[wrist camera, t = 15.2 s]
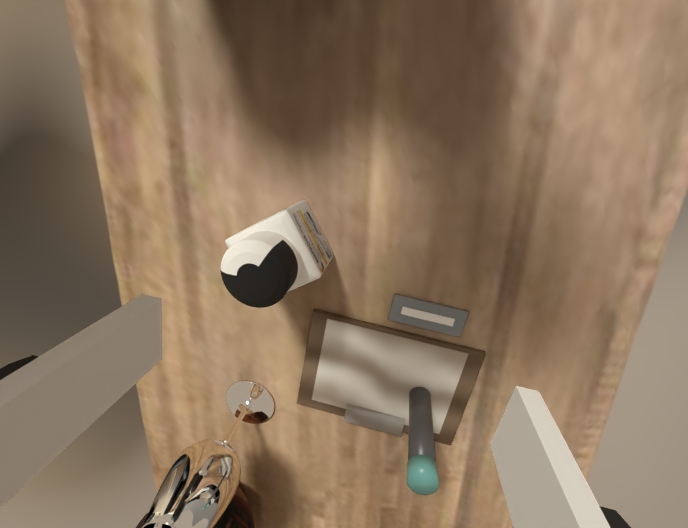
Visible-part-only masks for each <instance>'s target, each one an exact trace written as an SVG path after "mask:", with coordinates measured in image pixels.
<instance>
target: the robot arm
mask: <svg viewBox="0 0 688 528" xmlns="http://www.w3.org/2000/svg"><path fill="white" fill-rule="evenodd" d="M161 359H162V311H161V298H157V297H153V296H148V295H144V294H142V295H140V296H138V297H137V298H135V299H133V300H132V301H130V302H129V303H127V304H125V305H124V306H122V307H120V308H119V309H117V310H115V311H114V312H112V313H110V314H109V315H107V316H105V317H104V318H102V319H100V320H99V321H97V322H96V323H94V324H92V325H91V326H89V327H88V328H86V329H84V330H82V331H81V332H79V333H77V334H76V335H74V336H72V337H71V338H69V339H68V340H66V341H64V342H63V343H61V344H59V345H58V346H56V347H54V348H53V349H51V350H50V351H48V352H46V353H45V354H43V355H41V356H39V357H38V356H34V355H32V356H30V357H27V358H24V359H21V360H18V361H16V362H13V363H10V364H8V365H6V366H5V367H3V368H1V369H0V508H1V507H2V506H3V505H4V504H5V503H7V502H8V501H9V500H10V499H11V498H12V497H13V496H14V495H15V494H16V493H17V492H18V491H19V490H20V489H22V488H23V487H24V486H25V485H26V484H27V483H28V482H29V481H30V480H31V479H33V478H34V477H35V476H36V475H37V474H38V473H39V472H40V471H41V470H42V469H43V468H44V467H46V465H48V464H49V463H50V462H51V461H52V460H53V459H54V458H55V457H56V456H57V455H58V454H59V453H60V452H62V451H63V450H64V449H65V448H66V447H67V446H68V445H69V444H70V443H72V442H73V441H74V440H75V439H76V438H77V437H78V436H79V435H80V434H81V433H82V432H83V431H84V430H86V429H87V428H88V427H89V426H90V425H91V424H92V423H93V422H94V421H95V420H96V419H98V417H100V416H101V415H102V414H103V413H104V412H105V411H106V410H107V409H108V408H109V407H110V406H112V405H113V404H114V403H115V402H116V401H117V400H118V399H119V398H120V397H121V396H122V395H123V394H125V393H126V392H127V391H128V390H129V389H130V388H131V387H132V386H133V385H134V384H135V383H137V382H138V381H139V380H140V379H141V378H142V377H143V376H144V375H145V374H146V373H147V372H148V371H150V370H151V369H152V368H153V367H154V366H155V365H156V364H157V363H158V362H159V361H160V360H161ZM490 446H491V449H492V453H493V457H494V460H495V464H496V467H497V471H498V475H499V478H500V482H501V485H502V489H503V493H504V496H505V500H506V503H507V507H508V511H509V514H510V518H511V521H512V525H513V528H631V527H630V526H629V525H628V524H627V523H626V522H625V521H624V519H623V518H622V517H621V516H620V515H619V514H618V513H617V511H615V510H612V509H608V508H604V507H600V506H599V505H598V503H597V501H596V499H595V497H594V495H593V493H592V492H591V489H590V488H589V486H588V484H587V482H586V480H585V478H584V476H583V474H582V472H581V470H580V469H579V467H578V465H577V463H576V461H575V459H574V457H573V455H572V453H571V451H570V450H569V448H568V446H567V444H566V442H565V440H564V438H563V436H562V434H561V432H560V431H559V429H558V427H557V425H556V423H555V421H554V419H553V417H552V415H551V413H550V412H549V410H548V408H547V406H546V404H545V402H544V400H543V398H542V396H541V394H540V393H539V391H536V390H532V389H528V388H523V387H519V386H516V387H515V389H514V392H513V394H512V396H511V398H510V401H509V403H508V405H507V407H506V410H505V412H504V414H503V416H502V419H501V421H500V423H499V426H498V428H497V430H496V432H495V435H494V437H493V439H492V441H491V444H490Z"/></svg>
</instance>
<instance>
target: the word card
mask: <svg viewBox="0 0 688 528" xmlns="http://www.w3.org/2000/svg"><path fill="white" fill-rule="evenodd" d="M468 313H469V312H468V311H466V310H461V309H457V308H453V307H449V306H445V305H440V304H436V303H432V302H428V301H424V300H419V299H415V298H411V297H407V296H403V295H398V294H395V295H394V299H393V302H392V306H391V310H390V314H389V318H388V320H391V321H395V322H399V323H403V324H407V325H411V326H415V327H419V328H423V329H427V330H432V331H436V332H440V333H444V334H448V335H452V336H456V337H460V336H461V333H462V330H463V327H464V325H465V322H466V319H467V316H468Z"/></svg>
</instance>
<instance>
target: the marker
mask: <svg viewBox="0 0 688 528" xmlns="http://www.w3.org/2000/svg"><path fill="white" fill-rule="evenodd" d="M407 484H408V486H409V488H410V489H411V490H412V491H413V492H415V493H417V494H420V495H430V494H432V493H434V492H436V491H437V489H438V486H439V483H438V470H437V464H436V457H435V444H434V431H433V418H432V405H431V394H430V392H429V391H428V390H427V389H426V388H424V387H415V388H413V389H411V391H410V393H409V449H408V463H407Z"/></svg>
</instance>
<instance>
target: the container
mask: <svg viewBox="0 0 688 528" xmlns="http://www.w3.org/2000/svg"><path fill="white" fill-rule="evenodd" d="M225 243H226V245H227V247H228V250H227V251H226V252H225V254H224V256H223V259H222V262H221V276H222V280H223V282H224V284H225V286H226V288H227V290H228V291H229V292H230V293H231V295H232V296H233V297H234V298H236V299H237V300H238V301H240V302H242V303H243V304H246V305H248V306H252V307H268V306H271V305H274V304H276V303H277V302H279V301H280V300H281V299H282V298H283V297H284V295H285V294H286V293H287V292H288V291H291V290H293V289H296V288H298V287H300V286H303V285H305V284H307V283H310V282H312V281H314V280H317V279H319V278H320V277H321V276H322V274H323V273H324V271H325V270H326V268H327V266H328V265H329V263H330V261H331V260H332V258H333V256H334V255H333V252H332V250H331V248H330V246H329V244H328V242H327V240H326V238H325V236H324V235H323V233H322V231H321V229H320V227H319V225H318V223H317V221H316V219H315V217H314V215H313V213H312V211H311V209H310V207H309V205H308V203H307V201H306V200H301V201H299V202H297V203H295V204H294V205H292V206H290V207H288V208H286V209H284V210H282V211H280V212H278V213H276V214H274V215H272V216H270V217H268V218H266V219H264V220H262V221H260V222H258V223H256V224H254V225H252V226H250V227H248V228H246V229H244V230H243V231H241V232H239V233H237V234H235V235H233V236H231V237H230V238H228V239H227V240H226V241H225Z"/></svg>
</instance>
